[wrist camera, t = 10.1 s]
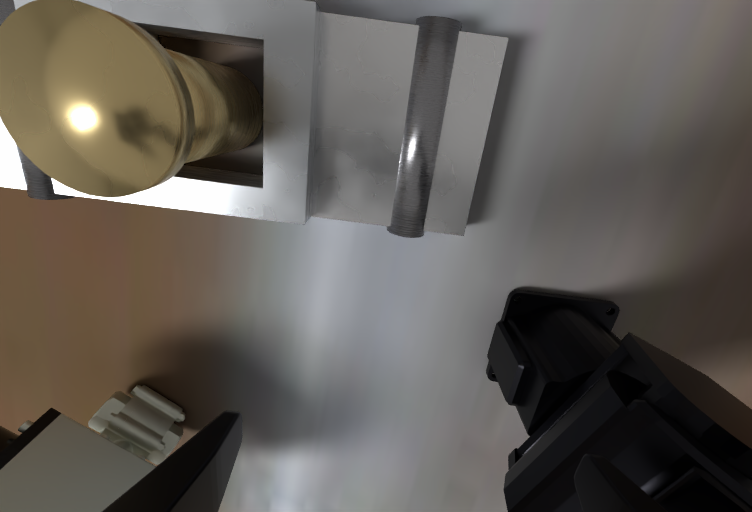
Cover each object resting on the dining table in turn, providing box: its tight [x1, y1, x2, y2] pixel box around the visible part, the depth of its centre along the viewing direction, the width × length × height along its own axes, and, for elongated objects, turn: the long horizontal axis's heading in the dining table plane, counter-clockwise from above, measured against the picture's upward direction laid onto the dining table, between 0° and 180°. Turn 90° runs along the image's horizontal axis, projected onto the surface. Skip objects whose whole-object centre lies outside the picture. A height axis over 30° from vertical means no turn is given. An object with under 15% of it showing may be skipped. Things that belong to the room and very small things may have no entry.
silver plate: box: [0, 0, 508, 238], centre depth 17 cm, size 23×10×3 cm, turn 83°
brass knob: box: [0, 0, 264, 198], centre depth 14 cm, size 5×5×9 cm
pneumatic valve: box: [0, 385, 185, 512], centre depth 20 cm, size 6×12×12 cm, turn 48°
